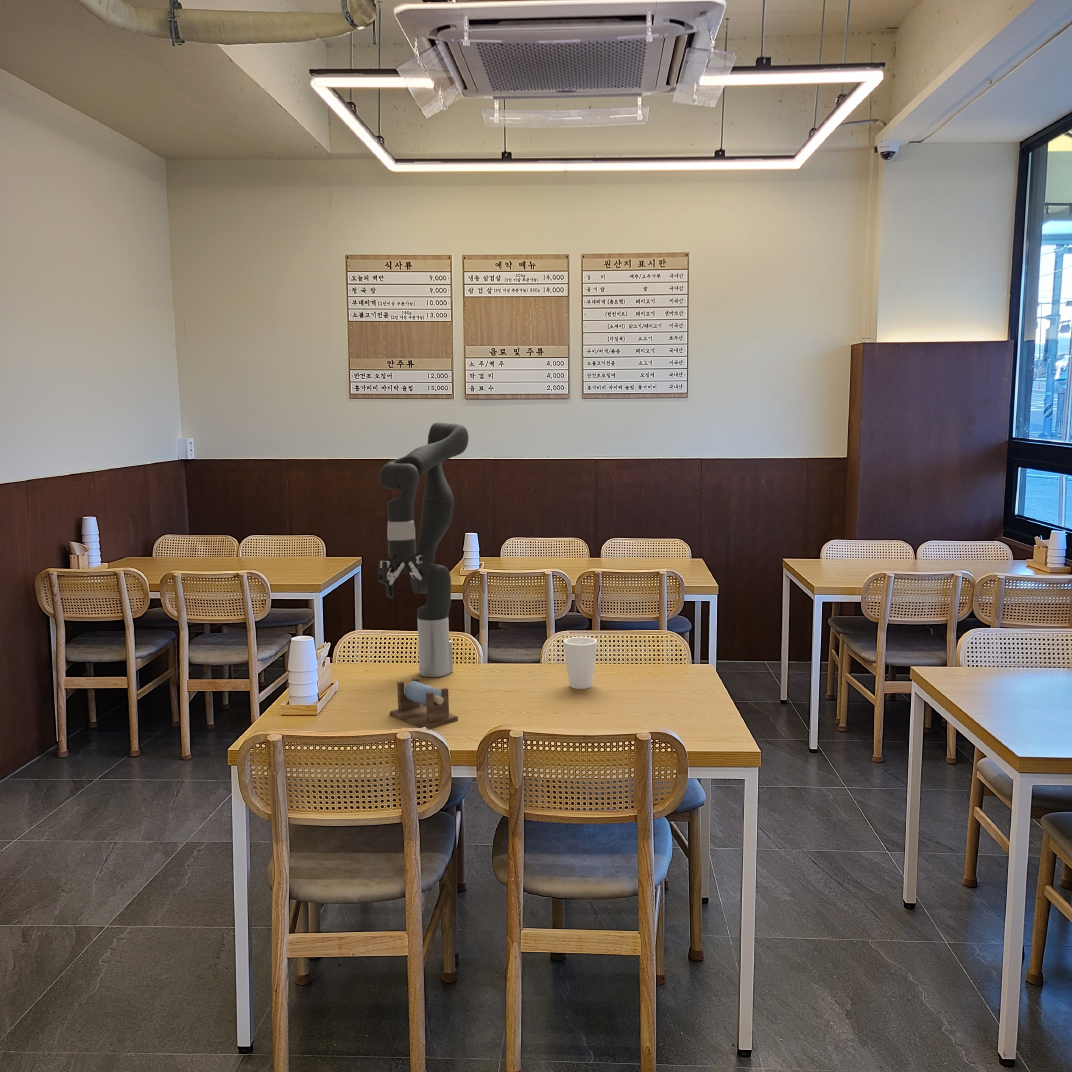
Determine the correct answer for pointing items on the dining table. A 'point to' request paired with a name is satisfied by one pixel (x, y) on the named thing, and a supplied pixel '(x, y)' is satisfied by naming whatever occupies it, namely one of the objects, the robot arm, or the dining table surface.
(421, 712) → the roll holder
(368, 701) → the dining table surface
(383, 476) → the robot arm
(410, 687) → the towel roll
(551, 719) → the dining table surface
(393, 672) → the dining table surface
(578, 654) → the foam cup
